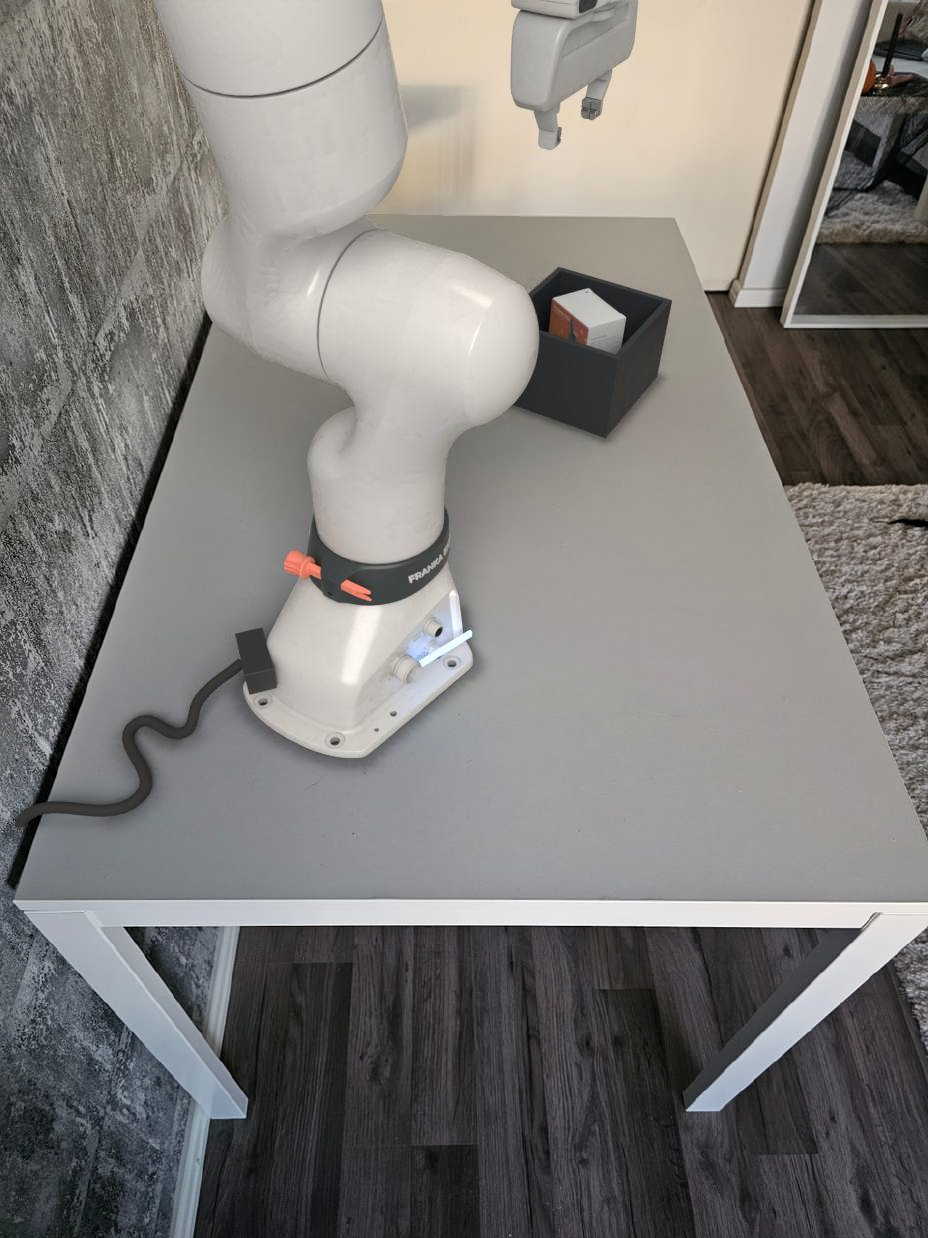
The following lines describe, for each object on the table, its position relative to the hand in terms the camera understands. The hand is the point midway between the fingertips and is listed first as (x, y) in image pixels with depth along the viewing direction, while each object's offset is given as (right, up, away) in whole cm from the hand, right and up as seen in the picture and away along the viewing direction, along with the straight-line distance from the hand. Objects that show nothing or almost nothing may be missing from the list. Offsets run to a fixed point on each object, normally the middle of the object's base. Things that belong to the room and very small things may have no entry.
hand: (570, 131), depth 93 cm
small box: (+4, -20, +23) cm, 31 cm away
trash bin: (+4, -20, +24) cm, 31 cm away
